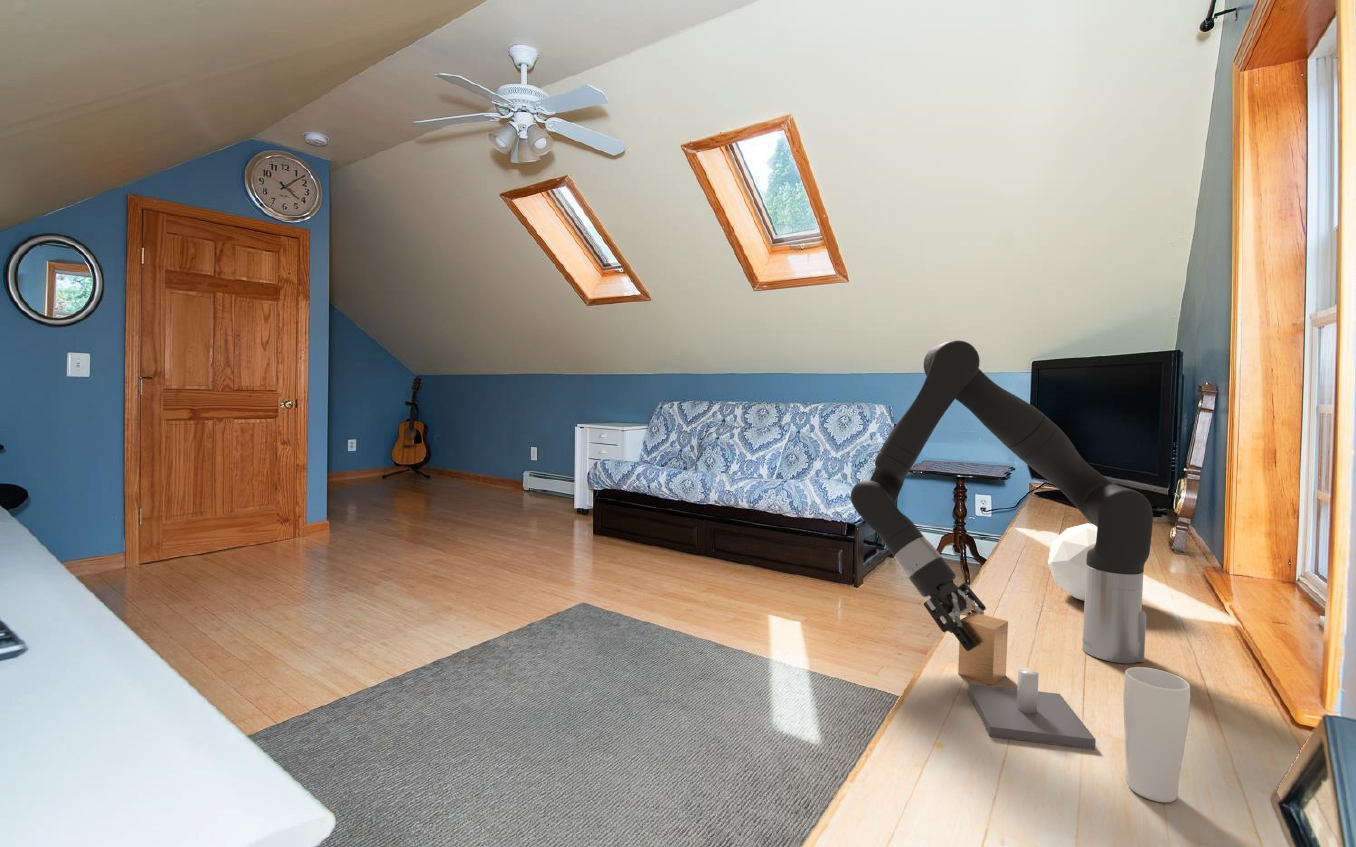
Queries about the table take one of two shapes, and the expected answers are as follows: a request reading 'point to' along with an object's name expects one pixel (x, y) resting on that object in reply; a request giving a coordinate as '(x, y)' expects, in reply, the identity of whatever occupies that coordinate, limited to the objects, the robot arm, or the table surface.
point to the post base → (1029, 713)
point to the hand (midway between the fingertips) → (982, 642)
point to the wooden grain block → (984, 649)
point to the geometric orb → (1072, 558)
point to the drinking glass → (1155, 731)
